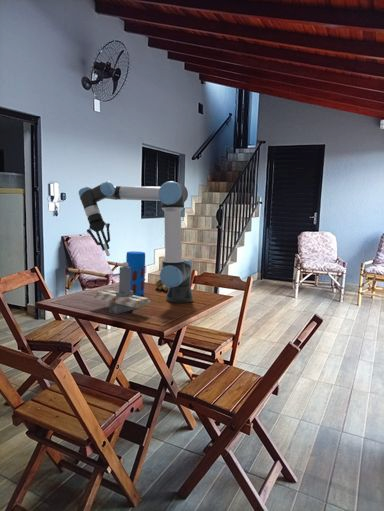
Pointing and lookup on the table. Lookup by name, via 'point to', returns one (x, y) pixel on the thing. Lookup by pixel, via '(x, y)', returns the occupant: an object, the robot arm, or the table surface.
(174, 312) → the table surface
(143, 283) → the thermos
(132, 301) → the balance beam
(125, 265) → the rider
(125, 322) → the table surface
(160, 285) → the ginger root
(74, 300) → the table surface
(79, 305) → the table surface
